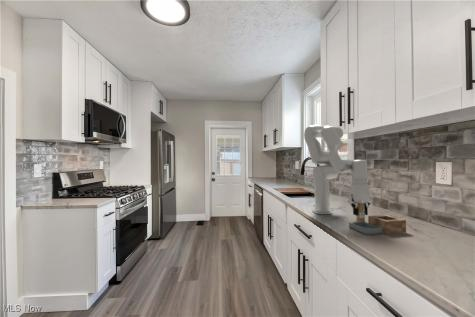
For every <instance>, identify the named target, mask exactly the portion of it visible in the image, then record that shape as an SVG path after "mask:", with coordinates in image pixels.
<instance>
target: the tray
mask: <svg viewBox="0 0 475 317" xmlns="http://www.w3.org/2000/svg"><path fill="white" fill-rule="evenodd" d="M348 228H349V229H352V230H354V231H357V232H359V233H361V234H364V235H365V236H370V235H382V234H384V233H383V228H381V227H378V226H375V225H372V224H370V223H368V221H367V222H366V221H365V222H356V221H353V222H348Z"/></svg>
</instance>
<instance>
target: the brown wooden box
mask: <svg viewBox="0 0 475 317" xmlns="http://www.w3.org/2000/svg"><path fill="white" fill-rule="evenodd" d="M367 216H368V220H367V223H370V224H372V225H375V226H378V227H381V228H383V234H385V235H395V234H396V235H397V234H405V233H407V221H406V219H403V218H399V217H397V216H392V215H389V214H378V215H367Z"/></svg>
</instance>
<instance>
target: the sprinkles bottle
mask: <svg viewBox="0 0 475 317" xmlns="http://www.w3.org/2000/svg"><path fill="white" fill-rule="evenodd" d="M357 208H358V216H356V215H355V222H366V215H365V202H364V200H362V201H361V203H358V206H357Z"/></svg>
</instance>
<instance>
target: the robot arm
mask: <svg viewBox="0 0 475 317" xmlns="http://www.w3.org/2000/svg"><path fill="white" fill-rule="evenodd" d="M343 136H344V130H343V128H341V127H339V126H331V125H320V124H313V125H308V126H307V127H305V130H304V133H303V138H304V140H305V144H306V146H307V147H308V153H309V156H310V160H311V162H312V164H314V165H317V166H315V167H314V168H313V169H312V177H313V182H314V183H313V184H314V205H313V207H314V208H313V209H312V213H315V214H318V215H331V214H333V213H334V212H333V210H331V194H330V192H331V191H330V189H331V188H330V183H329V181H328V180H333V179H336V178H337V177H338V176H339V173H340V174H341V173H351V184H350V187H349V194H348V200H347V203H348V204H349V205H350V206H351V208H352V213H353V215H354V216H355V217H356V216H358V208H357V206H358V203H361V201H362V200H364V202H365V216H369V214H368V208H369V207H370V205H371V203H372V202H373V199H372V198H371V192H370V185H369V184H368V183H369V181H370V180H369V179H368V161H367V160H366V159H342V158H341V157H340V155H339V151H340V150H341V149H342V148H343V147H344V142H343V141H342V138H343ZM317 138H322V139H323V140H324V142H325V144H326V145H327V148H328V150H323V148H322V146H321V143H320V142H319V140H318V139H317Z"/></svg>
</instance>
